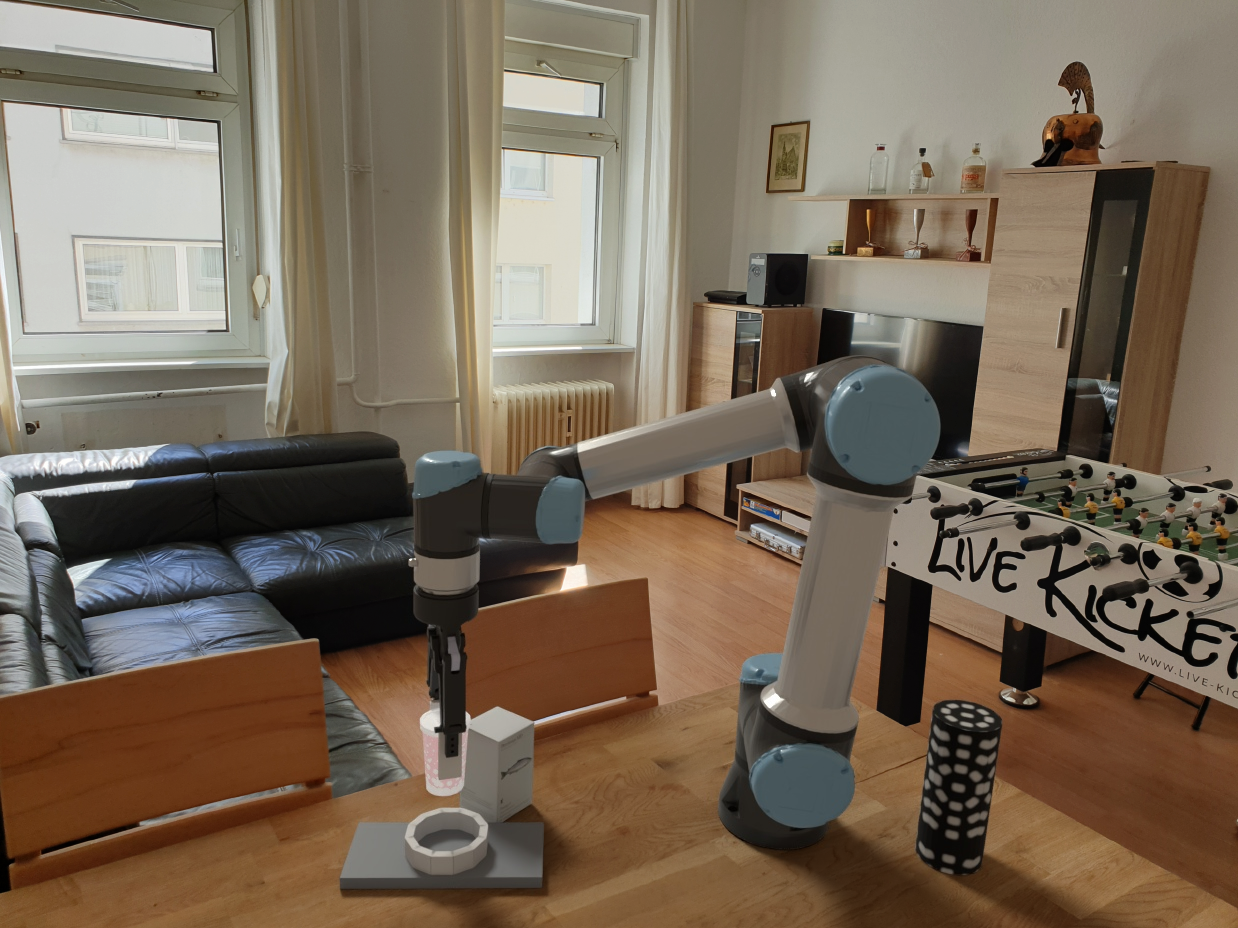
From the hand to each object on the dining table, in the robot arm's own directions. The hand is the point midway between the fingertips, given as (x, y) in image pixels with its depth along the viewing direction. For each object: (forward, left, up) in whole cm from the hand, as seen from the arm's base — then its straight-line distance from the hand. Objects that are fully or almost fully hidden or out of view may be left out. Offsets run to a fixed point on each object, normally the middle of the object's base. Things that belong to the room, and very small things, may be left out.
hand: (445, 761), depth 115 cm
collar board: (0, 0, -14) cm, 14 cm away
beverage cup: (0, 0, -3) cm, 3 cm away
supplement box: (0, -13, -14) cm, 19 cm away
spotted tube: (-59, -27, -14) cm, 67 cm away
